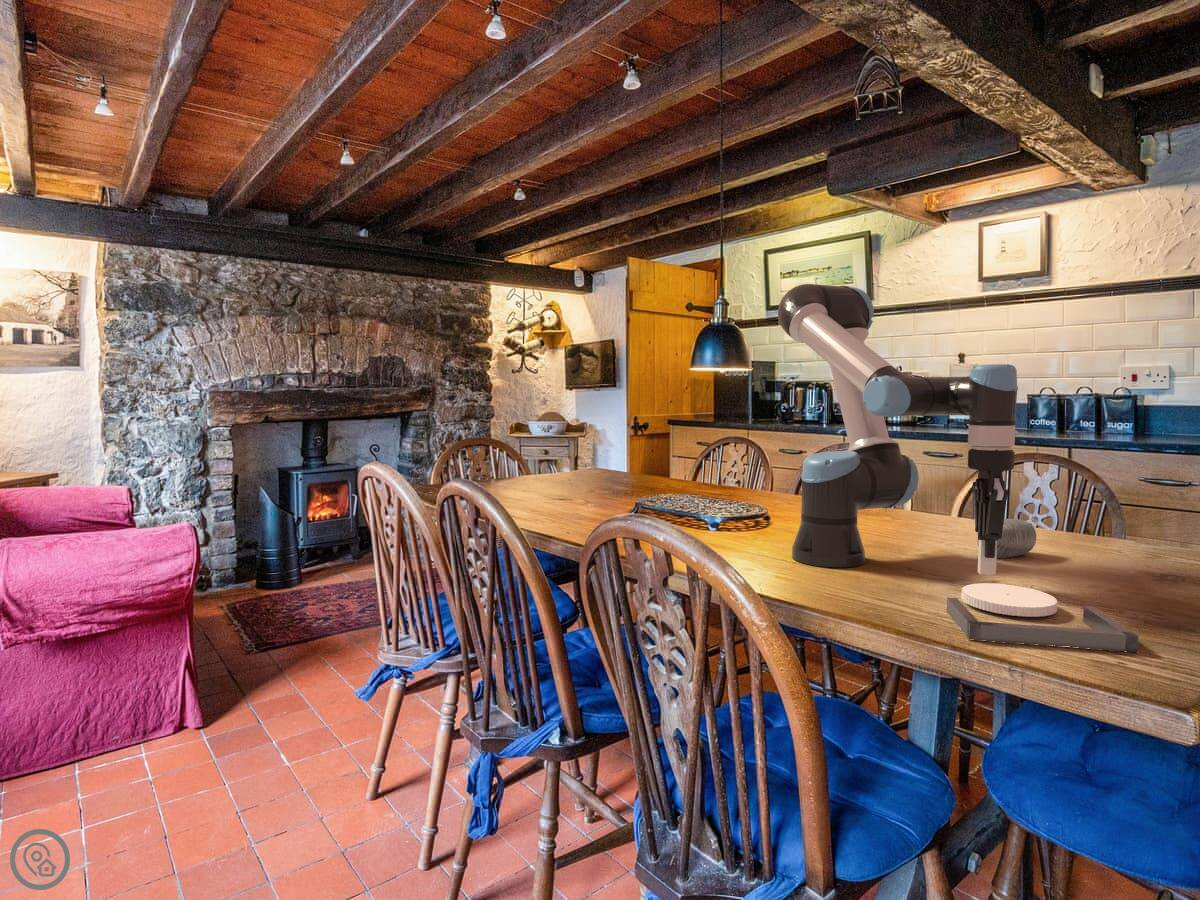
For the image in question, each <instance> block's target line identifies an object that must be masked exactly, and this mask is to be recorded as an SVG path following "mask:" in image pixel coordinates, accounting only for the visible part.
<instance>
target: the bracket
mask: <svg viewBox="0 0 1200 900" xmlns="http://www.w3.org/2000/svg"><path fill="white" fill-rule="evenodd" d="M947 612H948V613H947ZM946 613H947V614H949V615H950V616H951V617H952V618H951V617H950V616H949V617H950V618H951V620H952V619H953V620H954V621H955V622H956V623H955V622H954V621H953V620H952V621H953V622H954V623H955V624H957V625H958V626H959V627H960V628H961V630H962V631H963V632H964V633H965V634H966V636H967V637H968V638H969V639H974V640H986V641H995V642H1005V643H1004V644H1008V643H1024V644H1038V645H1053V646H1054V645H1055V646H1070V647H1079V648H1090V649H1102V650H1111V651H1110V652H1114V651H1127V652H1137V653H1138V647H1139V635H1138V634H1137V633H1135V632H1133V631H1131V630H1130V629H1129V628H1128V627H1126V626H1124V625H1123V624H1121V623H1119V622H1118V621H1117V620H1115V619H1114V618H1112V617H1111V616H1109V615H1107V614H1106V613H1105V612H1103V611H1102V610H1100V609H1099V608H1098V607H1095V606H1090V605H1088V606H1087V605H1083V615H1082V622H1083V623H1084V624H1086V625H1087V626H1088V627H1090V628H1091V629H1089V628H1078V627H1077V628H1076V627H1075V628H1074V627H1064V626H1061V625H1060V626H1056V625H1046V624H1045V625H1041V624H1020V623H1019V624H1018V623H1003V622H992V621H991V622H990V621H989V622H988V621H979V620H978V619H977V618H976V617H975V616H974V615H973V614H972V613H971V611H969V610H968V608H967V607H966V606H965V605H964V604H963V602H961V600H959V599H958V598H957V597H946ZM957 625H956V626H957ZM958 626H957V627H958ZM959 627H958V628H959ZM960 628H959V629H960ZM961 630H960V631H961ZM962 631H961V632H962ZM963 632H962V633H963ZM964 633H963V634H964ZM966 636H965V637H966ZM967 637H966V638H967ZM968 638H967V639H968ZM995 642H994V643H995ZM1127 652H1126V653H1127Z"/></svg>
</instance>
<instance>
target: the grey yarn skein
mask: <svg viewBox="0 0 1200 900" xmlns="http://www.w3.org/2000/svg"><path fill="white" fill-rule="evenodd" d="M1037 537H1038V536H1037V531H1036V529H1035V527H1034V526H1033V525H1032V524H1031V523H1029V522H1028V521H1026V520H1022V519H1017V518H1004V524H1003V532H1002V539H998V541H997V559H1005V558H1015V557H1018V556H1022V555H1025V554H1027V553H1029V552H1030V551H1032V550H1033V549H1034V547H1035V545H1036V542H1037ZM976 541H977V542H976V544H977V547H978V549H979V540H978V538H977V540H976Z"/></svg>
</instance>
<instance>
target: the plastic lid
mask: <svg viewBox="0 0 1200 900" xmlns="http://www.w3.org/2000/svg"><path fill="white" fill-rule="evenodd" d="M961 601H963V602H964V603H965V604H967V605H968V606H971V607H974V608H976V609H979V610H983V611H987V612H990V613H995V614H999V615H1000V614H1001V615H1007V616H1012V617H1013V616H1017V617H1026V618H1027V617H1031V618H1032V617H1033V618H1034V617H1035V618H1036V617H1037V618H1038V617H1039V618H1040V617H1047V616H1051V615H1054V614H1056V613H1057V612H1058V600H1057V598H1056V597H1054V596H1053V595H1051V594H1048V593H1047V592H1046V593H1045V592H1044V591H1040V590H1037V589H1034V588H1029V587H1024V586H1020V585H1012V584H1006V583H1005V584H1004V583H993V582H992V583H991V582H990V583H989V582H988V583H972V584H967V585H965V586H963V587H961Z"/></svg>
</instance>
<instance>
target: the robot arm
mask: <svg viewBox="0 0 1200 900" xmlns="http://www.w3.org/2000/svg"><path fill="white" fill-rule="evenodd" d="M874 316H875V309H874V304H873V302H872V299H871V297H870V296H869V295H868V293H866V292H865V291H864V290H862V289H861V288H858V287H855V286H854V287H853V286H850V285H827V284H815V283H803V284H800V285H797V286H794V287H793V288H791V289H790V290H788V291H787V292H786V293H785V294H784V295H783V297H782V298H781V300H780V302H779V304H778V309H777V318H778V322H779V324H780V326H781V328H782V330H783V331H784V332H785V333H786V334H787V335H788V337H790V338H791V339H792V340H794V341H795V342H797V343H805V345H807V347H809V349H811V350H812V351H814V352H815V353H816V354H817V355H818V356H819V357H820V358H822V359H823V360H824V361H825V362H827V363H828V364H829V367H830V371H831V374H832V378H833V379H832V380H833V383H834V386H835V387H834V388H835V391H836V395H837V399H838V404H839V408H840V412H841V416H842V420H843V424H844V427H845V432H846V437H847V441H848V442H849V443H848V444H849V447H848V449H847V450H833V451H829V450H828V451H821V452H818V453H813V454H810V455H808V456H806V458H805V459H804V460H803V463H802V472H801V476H800V477H801V479H800V480H801V505H800V506H801V507H800V508H801V510H800V511H801V512H800V513H801V514H800V515H801V517H800V519H801V520H800V525H799V528H798V531H797V533H796V536H795V538H794V541H793V545H792V548H791V558H792V559H793V560H794V561H797V562H799V563H803V564H805V565H809V566H816V567H824V568H854V567H857V566H858V567H859V566H862V565H864V564H865V561H866V550H865V548H864V544H863V541H862V539H861V535H860V531H859V527H858V517H859V516H858V513H859V511H860V510H861V511H862V510H872V509H874V510H875V509H890V508H893V507H900V506H903V505H905V504H907V503H908V502H909V501H910V500H912V498H913V497H914V495H915V492H916V491H917V489H918V486H919V477H920V476H919V470H918V467H917V465H916V463H915V462H914V460H913V459H911V458H910V457H909V456H907V455H906V454H902V453H901V448H900V445H899V442H898V441H896V440H894V439H893V438H891V437H889V432H888V428H887V424H886V421H885V417H886V418H894V417H895V418H896V417H910V416H911V417H912V416H918V417H920V416H923V417H924V416H968V434H967V435H968V436H967V445H968V446H970V447H971V448H970V449H969V450H967V467H968V468H969V469H971V470H974V471H975V470H976V471H978V474H977V478H975V481H973V482H972V488H973V498H974V499H973V500H974V503H973V504H974V525H975V526H974V531H975V533H977V539H978V540H979V548H978V551H977V553H978V555H977V573H978V574H979V575H988V576H989V575H991V576H996V575H997V560H998V558H997V541H998V539H1002V532H1003V524H1004V519H1005V515H1006V507H1007V501H1008V498H1009V497H1008V496H1009V490H1008V489H1006V481H1005V480H1004V476H1003V475H1004V474H1003V472H1004V471H1005V472H1006V471H1007V472H1009V471H1012V470H1014V469H1015V453H1016V452H1015V451H1014V450H1013V449H1011V448H1013V447H1015V443H1016V442H1015V441H1016V436H1018V434H1019V431H1018V430H1016V412H1017V411H1016V410H1017V399H1018V398H1017V397H1018V390H1019V386H1018V380H1017V379H1018V374H1017V371H1018V370H1017V368H1016V367H1015V366H1014V365H1013V364H1009V363H1007V364H1004V363H1001V364H1000V363H997V364H995V363H994V364H991V363H990V364H976V365H972V367H971V369H970V375H968V376H907V375H906V374H904V373H903V372H901V371H900V370H899V369H897V368H896V367H895V366H893V365H892V364H891V363H890V362H888V361H887V360H886V359H884V358H883V357H882V356H881V355H880V354H878V353H876V352H875V351H874V349H871V347H869V346H867V345H866V344H865V341H866V339H867V338H868V336H869V334H870V333H869V330H870V328H871V326H872V325H873V324H872V323H874V322H873V321H874V320H872V319H873V318H874ZM858 510H859V511H858Z"/></svg>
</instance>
